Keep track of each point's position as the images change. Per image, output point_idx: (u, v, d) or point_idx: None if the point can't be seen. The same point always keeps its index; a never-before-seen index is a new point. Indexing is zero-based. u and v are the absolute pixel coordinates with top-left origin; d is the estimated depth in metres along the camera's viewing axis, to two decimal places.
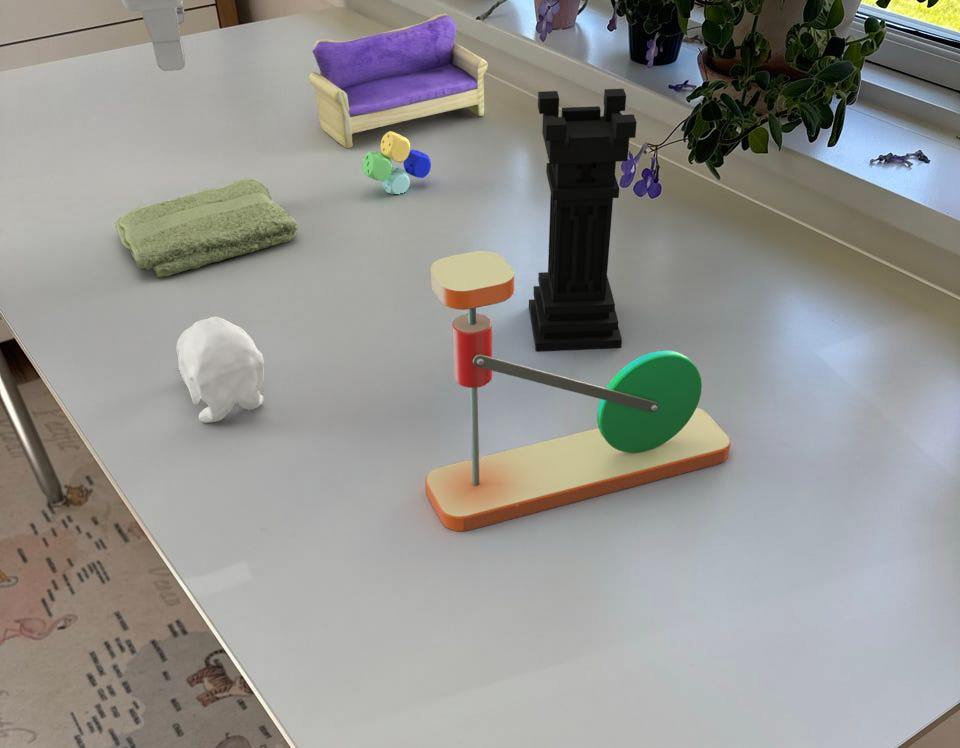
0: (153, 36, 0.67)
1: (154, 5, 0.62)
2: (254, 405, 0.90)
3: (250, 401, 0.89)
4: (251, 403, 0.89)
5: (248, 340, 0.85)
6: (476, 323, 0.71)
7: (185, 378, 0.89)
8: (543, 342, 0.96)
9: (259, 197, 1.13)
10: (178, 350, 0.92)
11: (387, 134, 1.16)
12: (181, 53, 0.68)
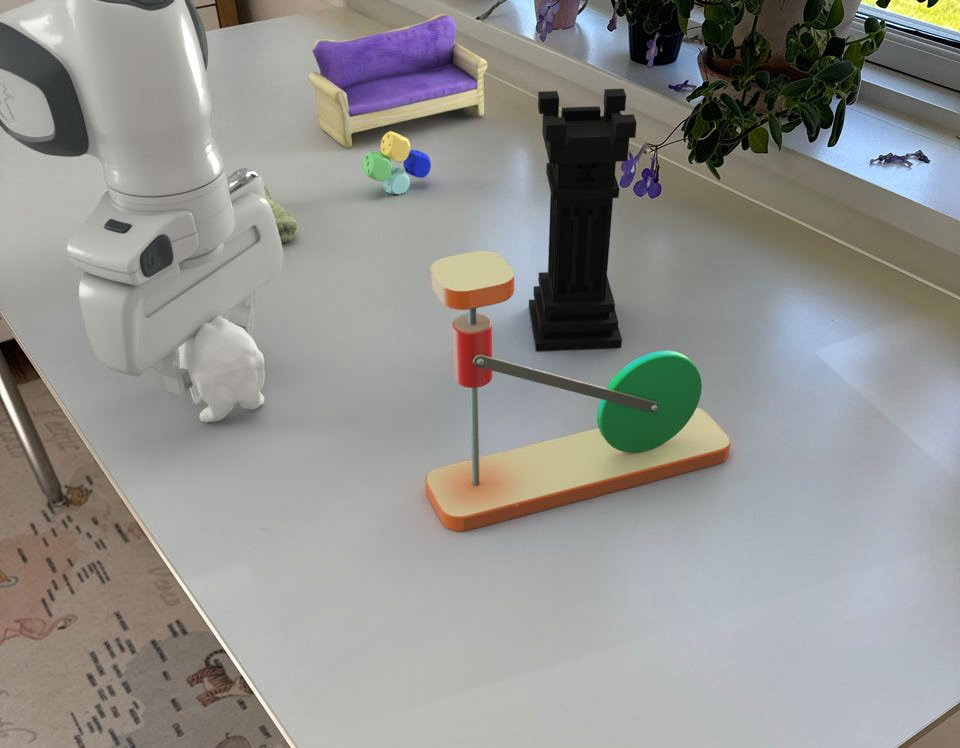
0: (158, 371, 0.86)
1: (118, 371, 0.81)
2: (255, 405, 0.90)
3: (250, 401, 0.89)
4: (252, 403, 0.89)
5: (249, 340, 0.85)
6: (476, 323, 0.71)
7: None
8: (543, 342, 0.96)
9: None
10: (179, 349, 0.92)
11: (387, 134, 1.16)
12: (179, 386, 0.86)
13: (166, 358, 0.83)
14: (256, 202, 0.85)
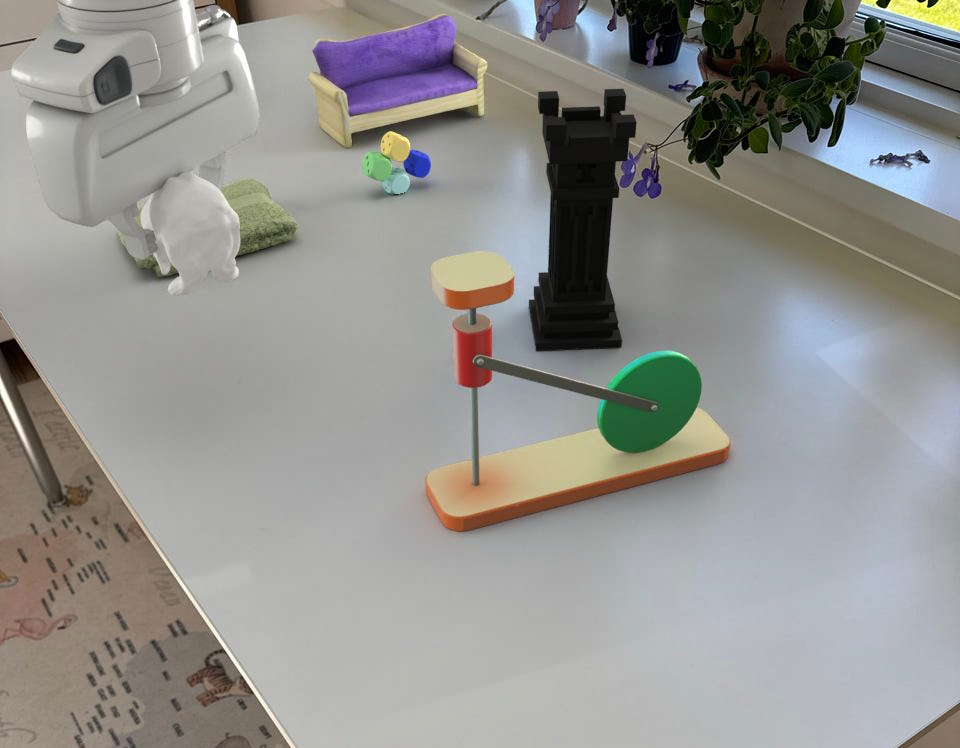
0: (119, 230, 0.77)
1: (71, 221, 0.72)
2: (229, 276, 0.81)
3: (225, 270, 0.80)
4: (226, 273, 0.81)
5: (222, 196, 0.77)
6: (476, 323, 0.71)
7: None
8: (543, 342, 0.96)
9: (259, 197, 1.13)
10: (143, 219, 0.83)
11: (387, 134, 1.16)
12: (142, 248, 0.78)
13: (127, 211, 0.75)
14: (228, 43, 0.77)
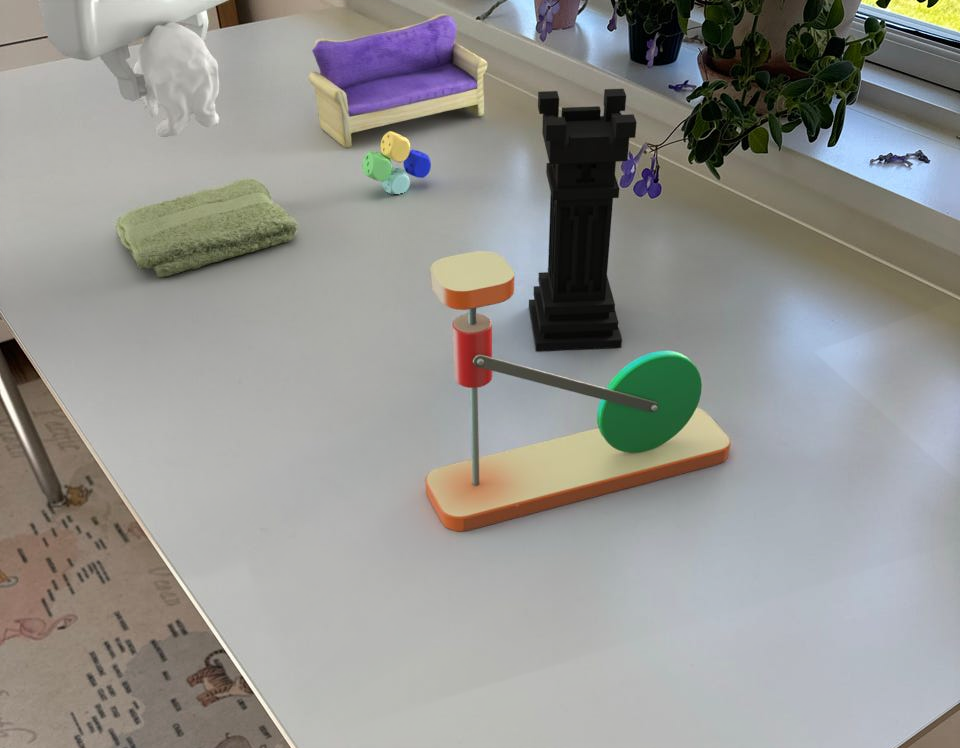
0: (113, 72, 0.89)
1: (70, 55, 0.84)
2: (210, 120, 0.93)
3: (206, 112, 0.92)
4: (207, 116, 0.92)
5: (202, 42, 0.88)
6: (476, 323, 0.71)
7: None
8: (543, 342, 0.96)
9: (259, 197, 1.13)
10: (135, 73, 0.95)
11: (387, 134, 1.16)
12: (133, 89, 0.89)
13: (120, 52, 0.87)
14: None
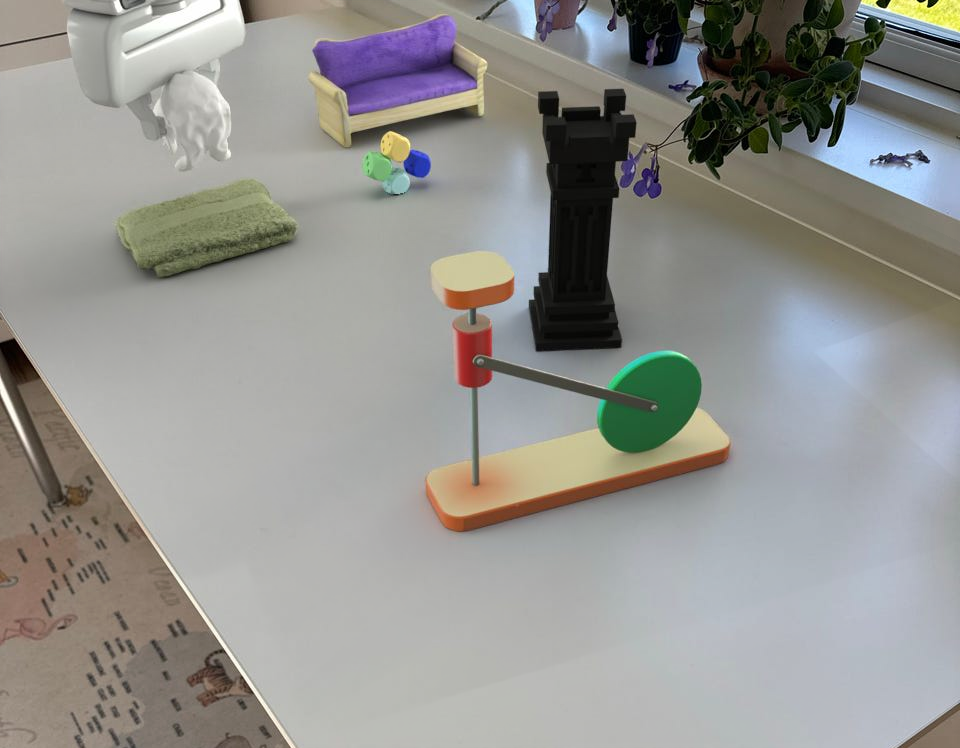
0: (137, 116, 1.00)
1: (101, 103, 0.95)
2: (223, 155, 1.04)
3: (219, 149, 1.03)
4: (220, 152, 1.03)
5: (216, 88, 0.99)
6: (476, 323, 0.71)
7: None
8: (543, 342, 0.96)
9: (259, 197, 1.13)
10: (155, 114, 1.06)
11: (387, 134, 1.16)
12: (155, 130, 1.00)
13: (143, 99, 0.98)
14: None
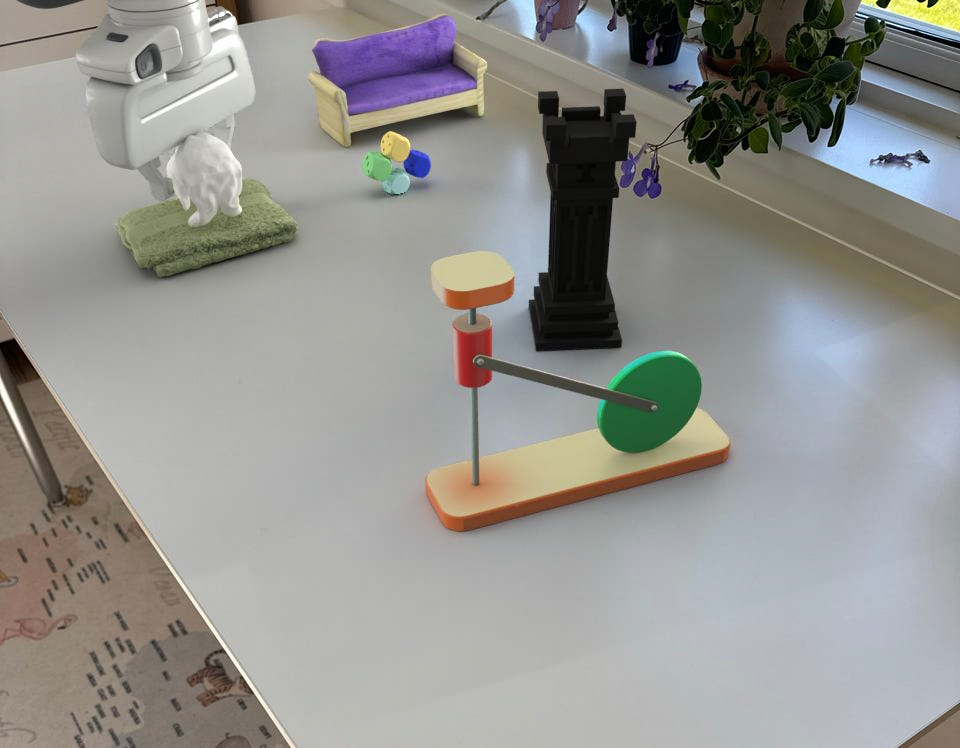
0: (146, 177, 1.03)
1: (117, 165, 0.99)
2: (234, 211, 1.08)
3: (231, 206, 1.07)
4: (232, 208, 1.07)
5: (229, 149, 1.03)
6: (476, 323, 0.71)
7: (176, 188, 1.07)
8: (543, 342, 0.96)
9: (259, 197, 1.13)
10: (168, 170, 1.10)
11: (387, 134, 1.16)
12: (163, 191, 1.04)
13: (152, 163, 1.01)
14: (230, 35, 1.03)
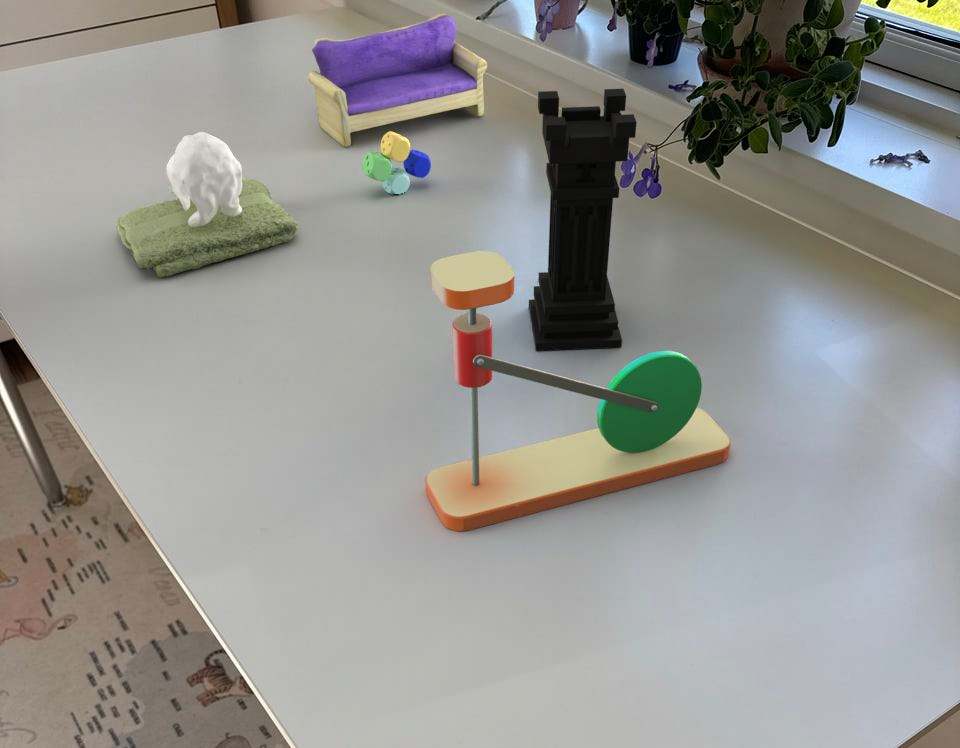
0: None
1: None
2: (234, 211, 1.08)
3: (231, 206, 1.07)
4: (232, 208, 1.07)
5: (228, 149, 1.03)
6: (476, 323, 0.71)
7: (176, 188, 1.07)
8: (543, 342, 0.96)
9: (259, 197, 1.13)
10: (168, 170, 1.10)
11: (387, 134, 1.16)
12: None
13: None
14: None
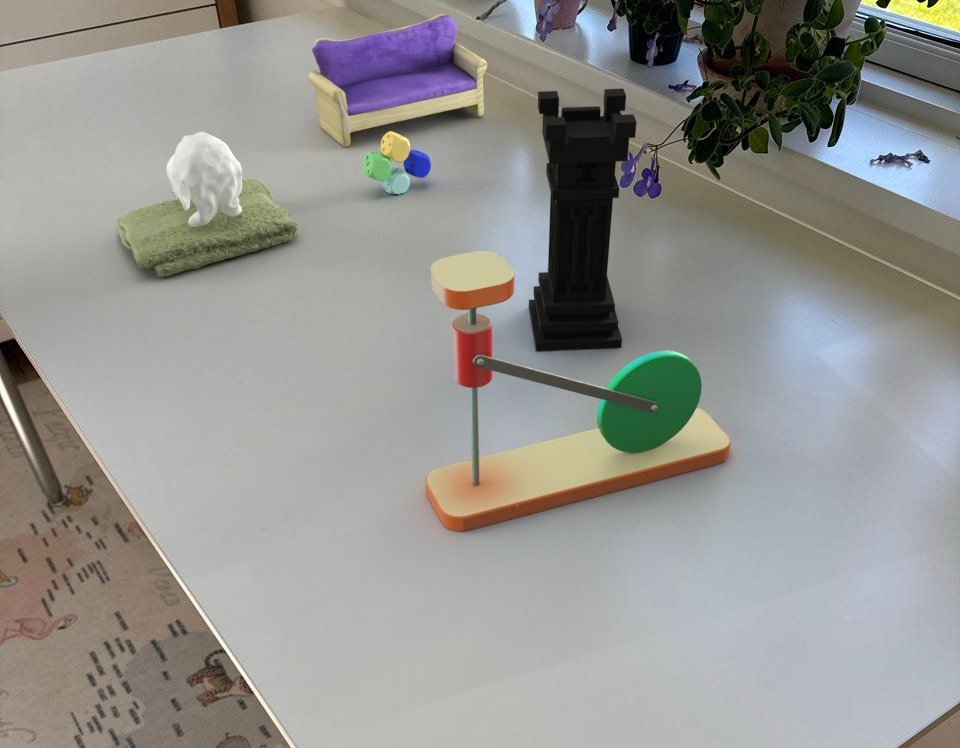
0: None
1: None
2: (234, 211, 1.08)
3: (231, 206, 1.07)
4: (232, 208, 1.07)
5: (228, 149, 1.03)
6: (476, 323, 0.71)
7: (176, 188, 1.07)
8: (543, 342, 0.96)
9: (259, 197, 1.13)
10: (168, 170, 1.10)
11: (387, 134, 1.16)
12: None
13: None
14: None
